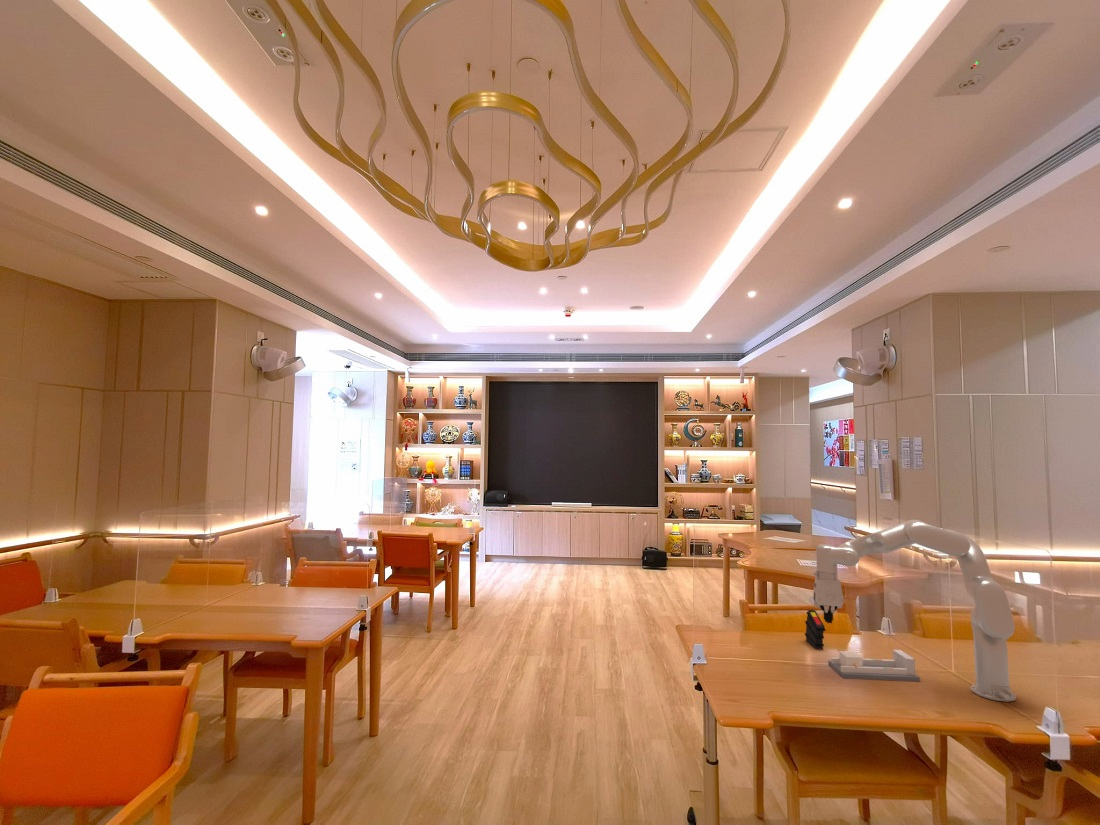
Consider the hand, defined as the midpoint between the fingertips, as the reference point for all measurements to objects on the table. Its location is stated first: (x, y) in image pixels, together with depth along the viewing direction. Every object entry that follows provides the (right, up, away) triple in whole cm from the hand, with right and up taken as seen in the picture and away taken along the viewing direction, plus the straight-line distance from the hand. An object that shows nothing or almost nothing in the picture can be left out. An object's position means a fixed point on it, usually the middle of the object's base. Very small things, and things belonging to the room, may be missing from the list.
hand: (828, 622), depth 219 cm
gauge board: (+16, -19, -3) cm, 25 cm away
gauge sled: (+8, -17, -2) cm, 19 cm away
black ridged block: (+8, -21, +27) cm, 35 cm away
